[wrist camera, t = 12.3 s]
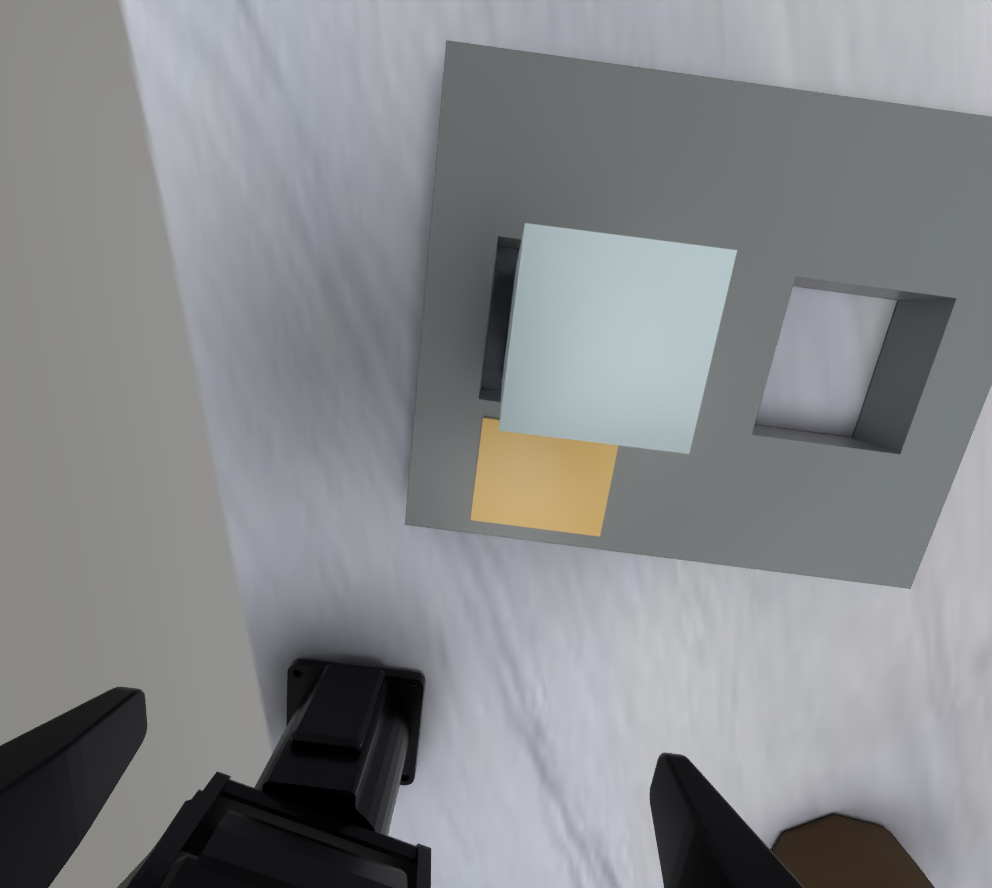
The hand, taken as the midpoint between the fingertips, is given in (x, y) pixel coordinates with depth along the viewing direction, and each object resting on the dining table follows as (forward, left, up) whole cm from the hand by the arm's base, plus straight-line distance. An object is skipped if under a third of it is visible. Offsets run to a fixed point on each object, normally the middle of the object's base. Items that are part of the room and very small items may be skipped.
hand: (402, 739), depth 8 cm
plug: (+7, -3, -13) cm, 15 cm away
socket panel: (+7, -8, -13) cm, 17 cm away
